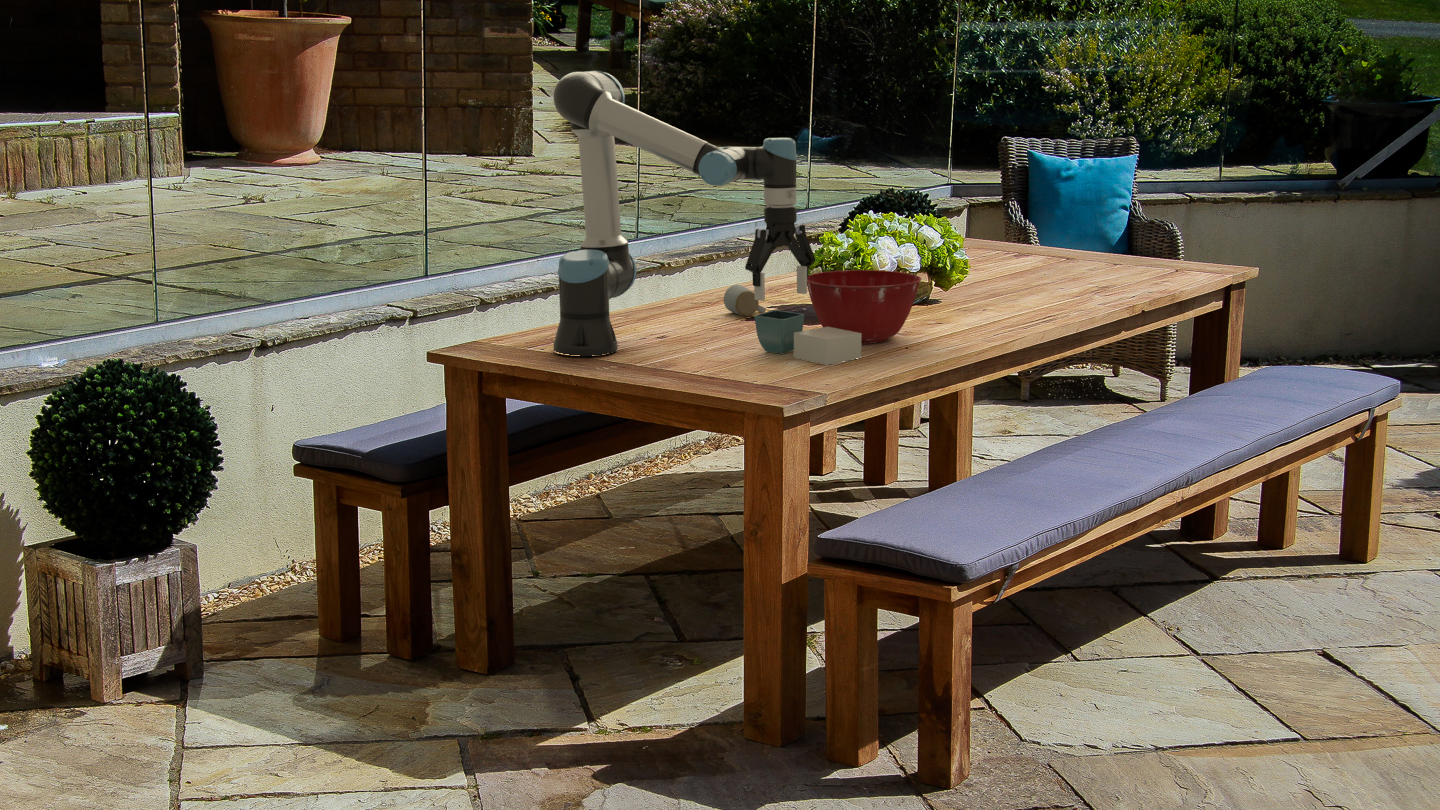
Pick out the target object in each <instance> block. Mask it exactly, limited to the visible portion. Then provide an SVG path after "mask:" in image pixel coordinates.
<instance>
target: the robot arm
mask: <svg viewBox="0 0 1440 810" xmlns="http://www.w3.org/2000/svg"><path fill="white" fill-rule="evenodd" d="M625 98H626V97H625V90H624V89H623V86H622V84H621V83H620V82H619V80H618V79H617V78H616V77H615V76H614V75H611V74H610V73H608V72H604V71H601V70H590V71H573V72H570V73H568V74H565V75H564V76H562V77H561V79H559V81H558V82H557V84H556V85H555V88H554V92H553V104H554V107H555V109H556V111H557V113H558V114H559V115H560V116H561V117H562V118H563V119H565V121H567V122H570V129H571V132H572V133H573V134H574V135H576V136H577V138H578V150H579V160H580V161H579V162H580V164H579V165H580V177H581V187H582V200H583V201H582V203H583V214H584V227H585V238H584V240H583V241H582V242H581V243H580V245H579V246H580V249H578V250H576V251H569V252H567V253H565V254H563V255H562V256H561V257H560V258H559V260H558V270H557V275H558V287H559V288H558V291H559V292H558V293H559V296H558V297H559V323H558V327H557V329H556V330H557V331H556V333H555V337H554V341H553V352H554V351H556V352H559V353H563V354H569V355H580V356H592V355H602V354H607V353H612V352H615V351H616V350H617V349H618V340H617V337H616V334H615V331H614V328H613V325H612V322H611V319H610V299H611V300H612V299H615V298H617V297H620V296H622V295H624V293H626V292H627V291H628V290H630V289H631V287H632V286H633V285H634V283H635V280H636V278H637V270H638V269H637V264H636V261H635V258H634V257H633V255H631V254H630V252H629V241H628V240H627V239H626V238H625V237H624V236H623V235H622V226H621V225H622V224H621V212H620V211H621V210H620V197H619V186H618V185H619V183H618V172H617V171H618V170H617V156H616V144H615V143H616V141H615V138H616V139H619V140H621V141H623V142H625V143H627V144H630V145H632V146H634V147H636V148H638V149H641V150H642V151H645V152H647V153H649V154H652V155H653V156H656V157H658V158H660V159H662V160H664V161H667V162H669V163H671V164H673V165H676V166H678V167H679V168H682V169H684V170H687V171H689V172H691V173H693V174H695V175H697V176H699V177H700V178H701V180H702V181H704V183H705V184H708V185H710V186H715V187H723V186H725V185H727V184H729V183H734V182H736V181H743V180H744V181H747V180H751V181H752V180H754V181H756V180H758V181H760V180H763V204H764V205H765V207H764V209H763V212H764V213H763V217H764V219H763V221H764V223H765V225H766V227H765V228H764V229H763V228H756V229H755V233H754V240H753V244H751V245H752V246H751V249H750V251H749V255H748V258H747V261H746V264H745V270H746V271H749V272H751V273H752V286H753V287H754V291H753V292H754V295H755V300H758V301H759V302H760V301H761V302H764V301H765V300H766V296H765V295H766V293H765V289H766V288H765V287H766V286H765V285H766V282H765V281H766V278H765V276H766V273H765V272H763V270H764V268H765V266H766V264H767V262H768V261H769V259H770V257H771V256H772V254H773V252H774V250H776V249H777V248H781V247H783V246H784V247H788V249H789V251H790V252H791V253H792V256H793V257H794V259H795V260H796V261H797V263H798V264H799V265H796V293H797V294H801V295H807V294H808V287H807V279H808V275H809V267H812V265H813V263H815V262H816V257H815V255H814V252H813V249H812V247H811V243H810V241H809V239H808V236H807V234H806V225H805V224H801V223H800V224H799V223H796V222H797V220H798V216H797V215H798V213H797V211H798V210H797V209H798V208H797V207H796V206H795V205H796V204H797V159H798V157H797V150H796V149H797V148H796V147H797V146H796V141H795V140H794V138H791V137H768V138H765V139H764V140H763V144H762V146H731V145H728V146H719V147H718V146H716V145H714V144H711V143H709V142H708V141H706V140H703V139H701V138H699V137H697V136H695V135H692V134H690V133H688V132H686V131H684V130H681V129H679V128H677V127H676V126H672V125H670V124H669V123H666V122H664V121H661V120H659V119H657V118H655V117H653V116H650V115H648V114H646V113H644V112H642V111H640V110H638V109H636V108H634V107H631V106H629V105H627V104H625V102H626V101H625V100H626V99H625ZM617 351H618V350H617ZM615 353H616V352H615Z"/></svg>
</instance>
